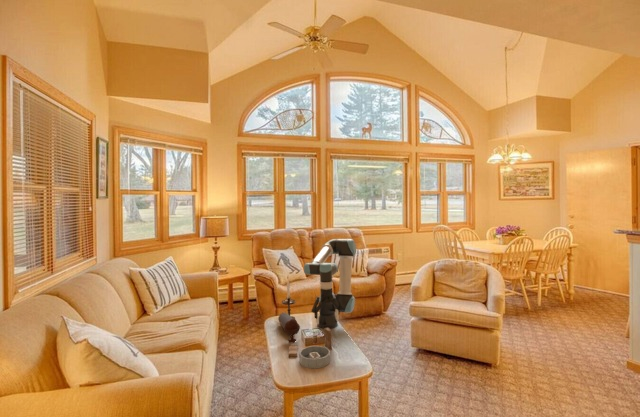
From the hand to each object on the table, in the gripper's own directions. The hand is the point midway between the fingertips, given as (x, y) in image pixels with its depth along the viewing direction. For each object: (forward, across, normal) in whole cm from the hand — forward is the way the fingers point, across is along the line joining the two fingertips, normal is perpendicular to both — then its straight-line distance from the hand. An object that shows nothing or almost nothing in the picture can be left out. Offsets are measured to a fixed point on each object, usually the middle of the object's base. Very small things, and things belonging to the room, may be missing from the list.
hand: (327, 321), depth 212 cm
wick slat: (+17, 0, 0) cm, 17 cm away
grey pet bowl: (+17, +14, +12) cm, 25 cm away
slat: (+17, +22, -4) cm, 28 cm away
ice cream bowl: (+17, +17, -21) cm, 32 cm away
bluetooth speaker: (+17, +14, -41) cm, 47 cm away
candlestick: (+17, +6, -62) cm, 65 cm away
